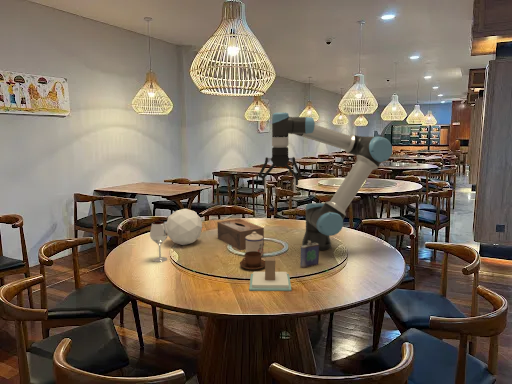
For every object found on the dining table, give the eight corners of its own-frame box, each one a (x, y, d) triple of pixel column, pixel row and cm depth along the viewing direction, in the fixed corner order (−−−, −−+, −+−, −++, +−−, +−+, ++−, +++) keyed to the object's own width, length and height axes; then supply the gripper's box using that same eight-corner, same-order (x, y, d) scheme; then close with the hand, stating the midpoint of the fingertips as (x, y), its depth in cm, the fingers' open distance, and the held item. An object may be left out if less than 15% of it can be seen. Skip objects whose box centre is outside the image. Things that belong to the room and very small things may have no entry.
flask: (302, 268, 166) (303, 243, 164) (298, 266, 169) (298, 241, 167) (320, 264, 171) (320, 240, 169) (315, 262, 174) (316, 238, 172)
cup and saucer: (257, 273, 161) (257, 259, 160) (234, 268, 167) (234, 255, 166) (271, 265, 171) (271, 252, 170) (249, 260, 177) (249, 248, 176)
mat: (288, 275, 158) (288, 273, 158) (291, 290, 142) (291, 289, 142) (250, 275, 159) (250, 273, 159) (249, 290, 143) (249, 289, 143)
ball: (192, 252, 210) (212, 223, 213) (182, 250, 191) (204, 218, 193) (165, 234, 214) (185, 205, 217) (153, 230, 195) (175, 198, 197)
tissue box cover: (217, 238, 214) (217, 221, 213) (239, 235, 222) (239, 218, 220) (240, 250, 193) (240, 231, 191) (263, 245, 200) (263, 227, 199)
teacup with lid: (261, 258, 180) (261, 234, 178) (243, 257, 182) (242, 233, 180) (266, 250, 191) (266, 228, 189) (249, 249, 193) (249, 227, 191)
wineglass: (172, 257, 181) (170, 221, 178) (162, 263, 174) (161, 225, 171) (157, 256, 184) (156, 220, 181) (147, 261, 176) (145, 224, 173)
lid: (286, 274, 157) (286, 253, 156) (288, 288, 144) (288, 265, 142) (253, 274, 158) (253, 253, 156) (252, 287, 144) (251, 265, 143)
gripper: (306, 146, 176) (305, 191, 179) (253, 146, 177) (253, 191, 180) (308, 146, 169) (307, 193, 172) (252, 147, 169) (253, 193, 173)
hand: (280, 192), depth 176 cm, fingers open, 13 cm apart
